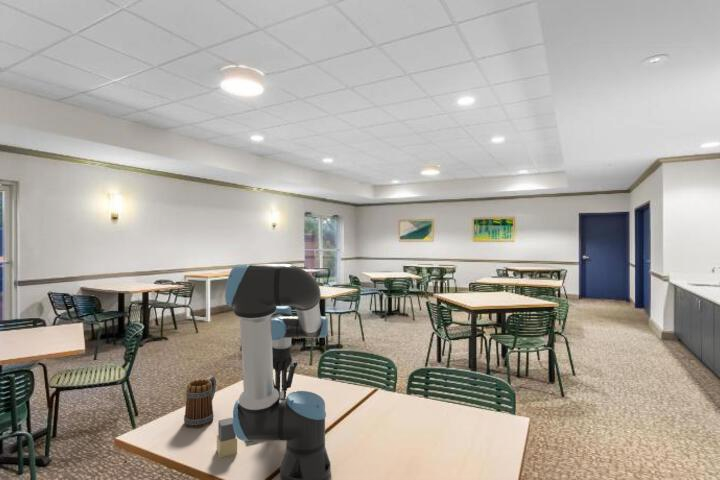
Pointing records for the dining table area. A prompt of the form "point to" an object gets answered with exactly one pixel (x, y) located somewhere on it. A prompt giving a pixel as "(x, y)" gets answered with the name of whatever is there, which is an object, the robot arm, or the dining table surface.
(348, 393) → the dining table surface
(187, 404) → the mug
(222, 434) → the plug
